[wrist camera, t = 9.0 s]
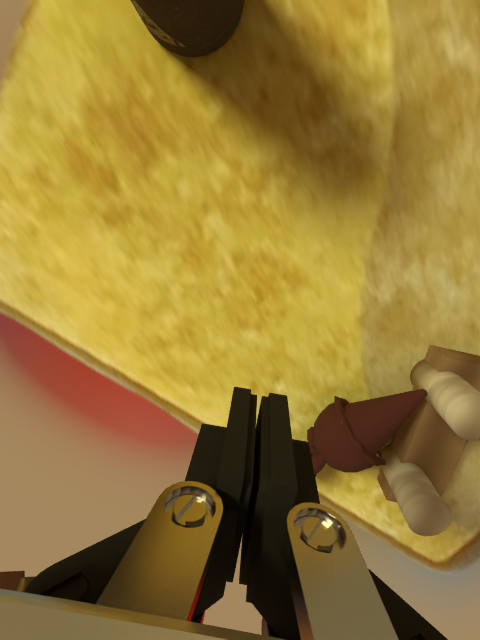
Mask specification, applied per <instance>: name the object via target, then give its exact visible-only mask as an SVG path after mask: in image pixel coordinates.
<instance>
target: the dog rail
mask: <svg viewBox="0 0 480 640" xmlns="http://www.w3.org/2000/svg"><path fill="white" fill-rule="evenodd" d="M410 379H411V382H412V384H413V386H414V388H413V390H419V389H425V390H426V391H427V395H426V397H425V398H424V399H423V400H422V402H421V403H420V404H419V405H418V406H417V407H416V409H415V410H414V411H413V412H412V413H411V414H410V416H409V417H408V418H407V419H406V420H405V421H404V423H403V424H402V425H401V426H400V427H399V429H398V430H397V431H396V433H395V436H394V438H393V441H392V443H391V445H389V446H386V447H385V448H384V449H382V451H381V452H380V453H381V455H382V458H383V459H384V460H385V461H386V465H380V467H381V471H380V473H379V476H378V478H377V479H378V481H379V484H380V486H381V488H382V490H383V493H384V495H385V497H386V500H389V501H394V502H397V503H398V505H399V507H400V509H401V511H402V513H403V515H404V517H405V519H406V521H407V524H408V526H409V528H410V529H411V530H412V531H413V532H414V533H416V534H418V535H422V536H433V535H437V534H439V533H441V532H443V531H444V530H445V529H446V528H447V527H448V526H449V524H450V522H451V514H450V511H449V510H448V508H447V507H446V505H445V504H444V502H443V500H442V499H441V495H442V493H443V491H444V489H445V487H446V485H447V483H448V481H449V478H450V476H451V474H452V472H453V470H454V468H455V466H456V463H457V461H458V459H459V457H460V455H461V453H462V451H463V449H464V446H465V444H466V442H467V440H478V439H480V356H478V355H473V354H468V353H464V352H459V351H455V350H450V349H445V348H441V347H436V346H432V345H430V347H429V350H428V352H427V355H426V357H425V359H424V360H422V361H420V362H418V363H417V364H416V365H415V366H414V367H413V369H412V371H411V375H410ZM413 390H412V391H413Z"/></svg>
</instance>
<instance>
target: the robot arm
mask: <svg viewBox="0 0 480 640" xmlns="http://www.w3.org/2000/svg"><path fill="white" fill-rule="evenodd" d="M256 407H257V395H253V394H251V389H245V388H239V387H234V391H233V396H232V402H231V407H230V413H229V418H228V424H227V428H226V427H220V426H214V425H209V424H202V426H201V429H200V432H199V435H198V439H197V442H196V445H195V449H194V452H193V455H192V459H191V462H190V465H189V469H188V472H187V475H186V479H185V481H184V482H179V483H176V484H173V485H171V486H170V487H168V488H167V489H165V490H164V491H163V492H162V494H161V495H160V496H159V498H158V499H157V501H156V503H155V504H154V506H153V508H152V510H151V512H150V513H149V515H148V516H147V518H146V519H145V520H143V521H141V522H139V523H137V524H135V525H132V526H130V527H129V528H126V529H124V530H122V531H120V532H118V533H116V534H114V535H112V536H110V537H108V538H106V539H104V540H102V541H100V542H98V543H96V544H94V545H92V546H90V547H88V548H86V549H84V550H82V551H80V552H78V553H76V554H74V555H71V556H69V557H68V558H65V559H63V560H61V561H59V562H57V563H55V564H53V565H52V566H50V567H48V568H47V569H45V570H44V571H42V572H41V573H40V574H38V575H37V576H36V577H25V571H10V572H9V571H8V572H0V640H447V638H445V637H444V636H443V635H442V634H441V633H440V632H439V631H438V630H437V629H435V628H434V627H433V626H432V625H431V624H430V623H429V622H428V621H426V620H425V619H424V618H423V617H422V616H421V615H420V614H419V613H418V612H416V611H415V610H414V609H413V608H412V607H411V606H409V604H407V603H406V602H405V601H404V600H403V599H402V598H401V597H400V596H399V595H397V594H396V593H395V592H394V591H393V590H392V589H391V588H389V587H388V586H387V585H386V584H385V583H384V582H383V581H382V580H380V579H379V578H378V577H377V576H376V575H375V574H374V573H373V572H372V571H371V570H369V569H368V568H367V565H366V563H365V561H364V558H363V556H362V554H361V551H360V549H359V547H358V544H357V542H356V540H355V537H354V535H353V533H352V531H351V529H350V527H349V525H348V524H347V522H346V521H345V520H344V519H343V518H342V517H341V516H340V515H339V514H338V513H336V512H335V511H333V510H332V509H331V508H328V507H326V506H324V505H321V504H320V501H319V496H318V490H317V485H316V480H315V474H314V469H313V463H312V458H311V453H310V447H309V444H308V442H305V441H300V440H294V439H292V435H291V426H290V417H289V409H288V400H287V396H286V395H280V394H274V393H269V396H268V397H265V396H262V399H261V404H260V409H259V414H258V419H257V424H256ZM255 428H256V429H255ZM242 533H243V535H242ZM241 538H242V549H241V563H240V576H239V577H240V578H239V584H244V585H247V595H246V602H250V603H252V604H253V605H254V606H255V607H256V609H257V610H258V611H259V613H260V614H261V615H262V617H263V618H262V629H261V630H262V635H259V634H253V633H248V632H243V631H237V630H232V629H227V628H221V627H216V626H210V625H205V624H203V620H204V615H205V610H206V609H208V608H209V607H210V606H211V605H213V604H214V603H216V602H217V601H218V600H219V599H221V598H222V597H223V595H224V590H225V585H226V581H227V582H233V578H234V573H235V568H236V563H237V558H238V553H239V548H240V542H241Z"/></svg>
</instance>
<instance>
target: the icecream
mask: <svg viewBox="0 0 480 640" xmlns="http://www.w3.org/2000/svg"><path fill="white" fill-rule="evenodd" d="M426 395H427V391H426V390H425V389H419V390H413V391H409V392H404V393H400V394H395V395H390V396H385V397H380V398H375V399H370V400H365V401H360V402H355V403H350V404H349V403H348V402H347V401H346V400H345V399H342V398H339V397H336V396H335V401H334V403H332V404H329V405H328V406H327V407H326V408H325V409H324V410H323V411H322V412H321V413H320V415H319V416H318V418H317V420H316V421H315V424H314V427H311V428H310V429H308V430H307V439H308V444H309V447H310V453H311V458H312V463H313V469H314V474H315V477H316V474H317V473H318V472H319V471H321V470H322V468H323V467H324V465H325V464H326V463H327V464H328V465H329V466H331V467H332V468H334V469H337V470H340V471H343V472H359V471H362V470H364V469H367V468H371V467H372V466H373V465H376V466H378V465H386V461H385V460H384V459H383V458H382V455H381V453H380V452H379V451H380V450H381V449H382V447H383V446H384V445H385V444H386V443H387V441H388V440H389V439H390V438H391V437H392V436H393V434H394V433H395V432H396V431H397V430H398V429H399V427H400V426H401V425H402V424H403V423H404V421H405V420H406V419H407V418H408V417H409V416H410V414H411V413H412V412H413V411H414V410H415V409H416V407H417V406H418V405H419V404H420V403H421V402H422V400H423V399H424V398H425V397H426Z"/></svg>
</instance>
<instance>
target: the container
mask: <svg viewBox="0 0 480 640" xmlns="http://www.w3.org/2000/svg"><path fill="white" fill-rule="evenodd" d="M131 2H132V3H133V5H134V7H135V9H136V11H137V12H138V14H139V16H140V17H141V19H142V21H143V22H144V24H145V26H146V27H147V29H148V30H149V32H150V33H151V34H152V36H153V37H154V38H155V39H156V40H157V41H158V42H159V43H160V44H161V45H163V46H164V47H166V48H167V49H169V50H170V51H172V52H175V53H177V54H180V55H183V56H189V57H196V56H202V55H207V54H209V53H211V52H213V51H215V50H217V49H218V48H220V47H221V46H222V45H223V44H224V43H226V42H227V40H228V39H229V38H230V37H231V36H232V34H233V33H234V31H235V29H236V27H237V25H238V23H239V20H240V17H241V14H242V9H243V4H244V0H131Z"/></svg>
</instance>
